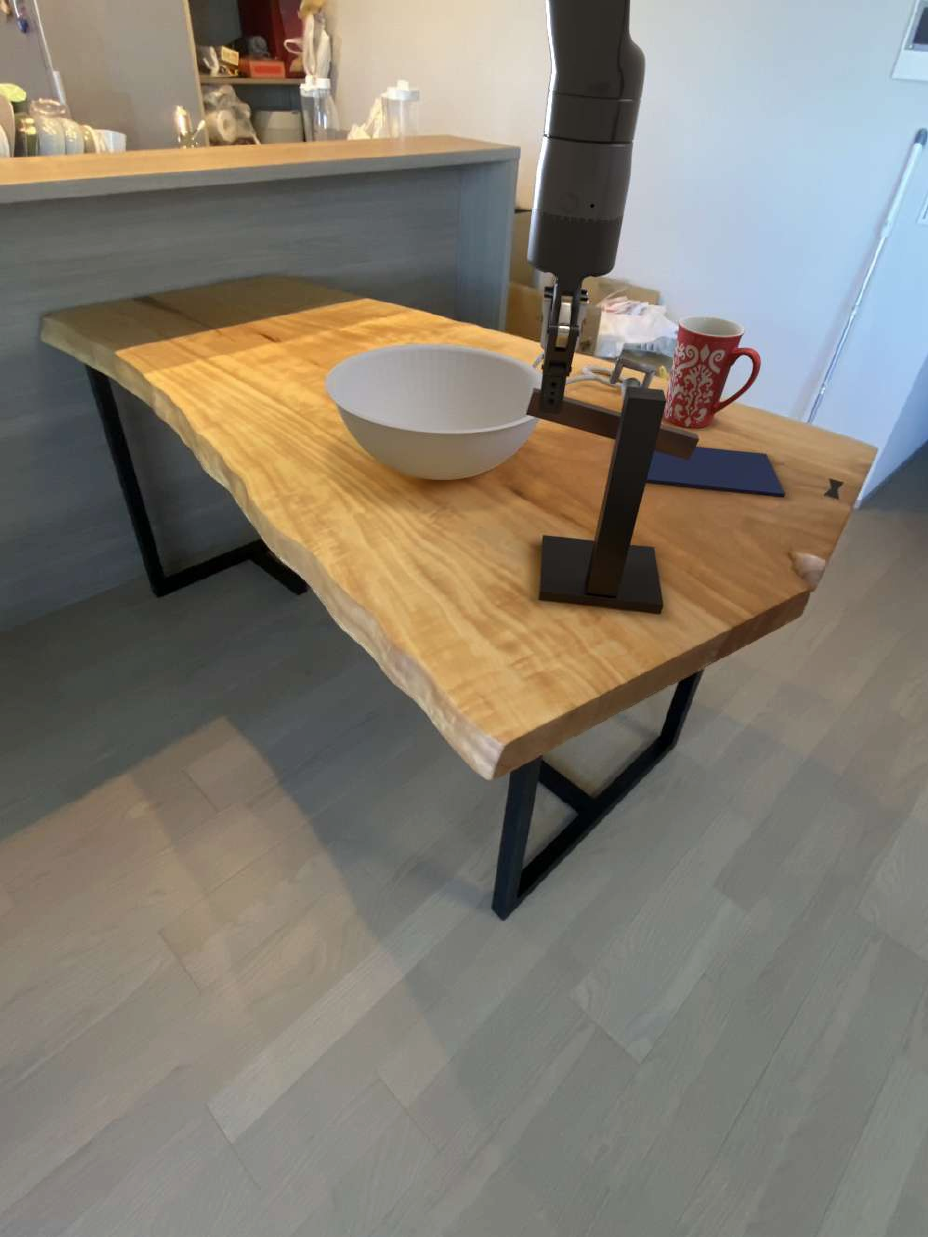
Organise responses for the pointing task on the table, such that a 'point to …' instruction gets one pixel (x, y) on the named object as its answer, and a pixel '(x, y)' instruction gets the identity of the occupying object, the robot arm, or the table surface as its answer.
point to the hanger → (615, 415)
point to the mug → (704, 369)
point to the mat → (717, 471)
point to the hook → (587, 374)
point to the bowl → (435, 407)
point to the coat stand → (613, 523)
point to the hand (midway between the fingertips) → (549, 407)
